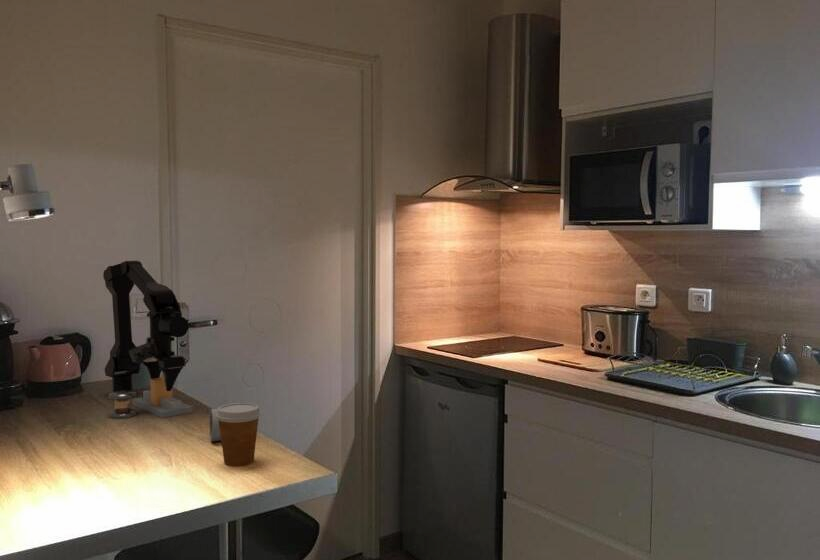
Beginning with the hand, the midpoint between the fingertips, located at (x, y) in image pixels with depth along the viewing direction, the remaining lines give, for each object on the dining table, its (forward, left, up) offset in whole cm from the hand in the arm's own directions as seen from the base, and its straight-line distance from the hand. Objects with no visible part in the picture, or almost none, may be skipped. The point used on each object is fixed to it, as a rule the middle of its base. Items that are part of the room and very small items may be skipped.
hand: (161, 388), depth 199 cm
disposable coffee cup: (+56, -7, -6) cm, 57 cm away
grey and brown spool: (0, -11, -6) cm, 12 cm away
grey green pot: (-31, +7, -6) cm, 32 cm away
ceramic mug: (+38, 0, -6) cm, 38 cm away
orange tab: (0, 0, -4) cm, 4 cm away
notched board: (0, 0, -6) cm, 6 cm away
